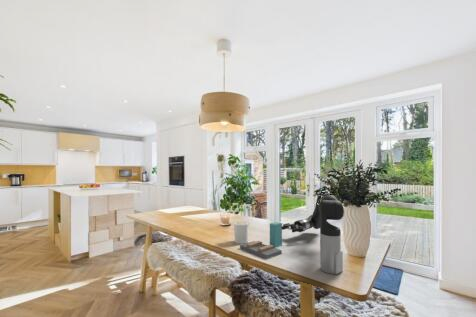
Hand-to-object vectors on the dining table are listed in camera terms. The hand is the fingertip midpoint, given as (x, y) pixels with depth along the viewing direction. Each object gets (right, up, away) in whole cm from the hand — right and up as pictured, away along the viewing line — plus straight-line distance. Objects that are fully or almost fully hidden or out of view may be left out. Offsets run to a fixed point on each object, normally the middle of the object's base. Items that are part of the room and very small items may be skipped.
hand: (287, 229), depth 160 cm
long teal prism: (-8, -8, -8) cm, 14 cm away
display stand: (-19, -8, -17) cm, 27 cm away
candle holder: (-30, -8, 0) cm, 31 cm away
